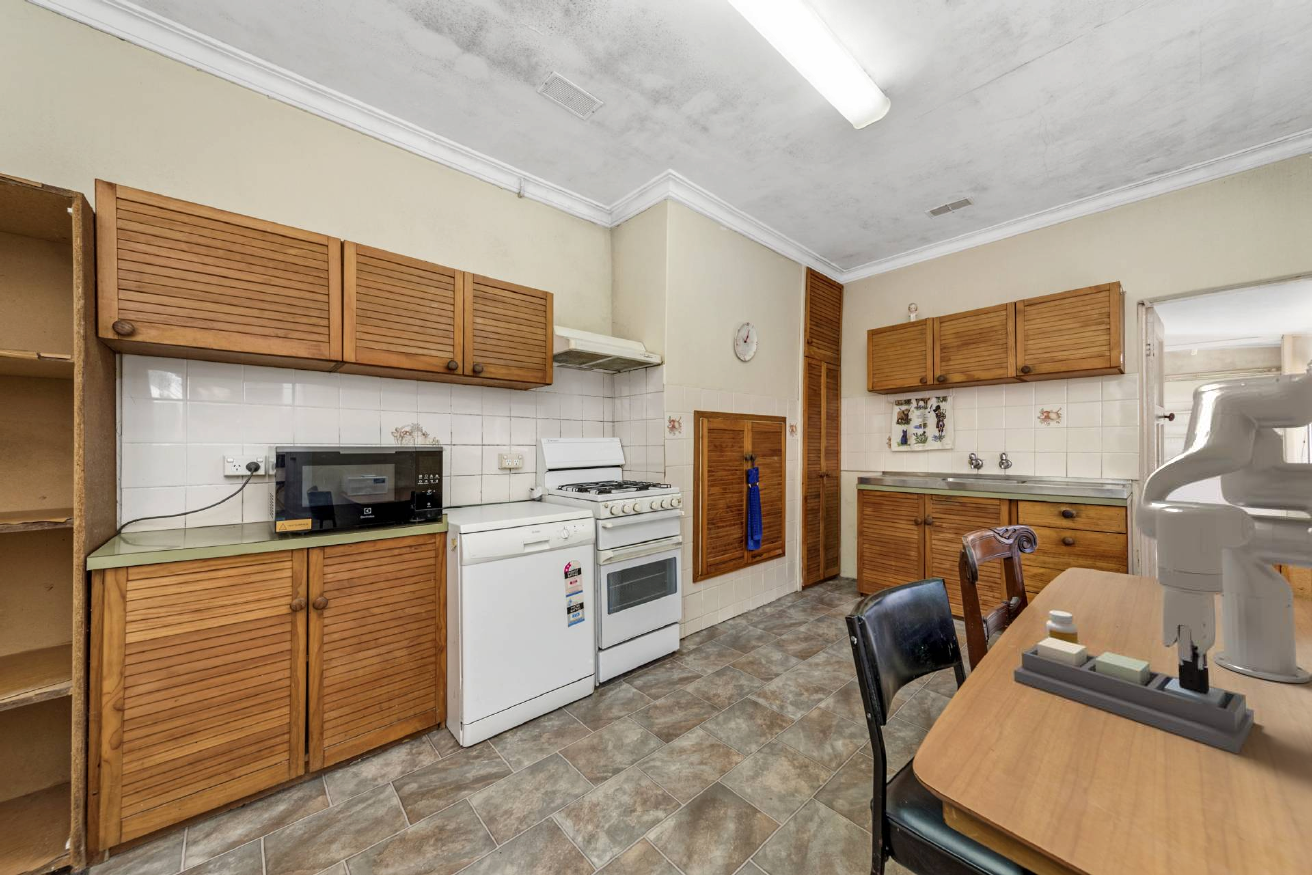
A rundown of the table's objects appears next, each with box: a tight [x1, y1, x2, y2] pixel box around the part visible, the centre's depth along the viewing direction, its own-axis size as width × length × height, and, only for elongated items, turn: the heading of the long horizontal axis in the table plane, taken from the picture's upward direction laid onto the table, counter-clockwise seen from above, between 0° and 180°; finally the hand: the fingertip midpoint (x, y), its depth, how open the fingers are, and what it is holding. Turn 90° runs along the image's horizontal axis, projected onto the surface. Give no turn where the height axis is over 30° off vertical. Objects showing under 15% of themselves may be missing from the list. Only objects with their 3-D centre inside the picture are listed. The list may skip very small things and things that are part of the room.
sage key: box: [1095, 651, 1151, 686], centre depth 90 cm, size 6×6×3 cm
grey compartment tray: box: [1013, 644, 1255, 755], centre depth 90 cm, size 15×29×5 cm, turn 33°
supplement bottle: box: [1045, 610, 1079, 645], centre depth 108 cm, size 5×5×10 cm
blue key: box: [1164, 678, 1226, 709], centre depth 83 cm, size 6×6×3 cm
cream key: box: [1036, 637, 1087, 667], centre depth 98 cm, size 6×6×3 cm
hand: (1194, 689), depth 83 cm, fingers closed
